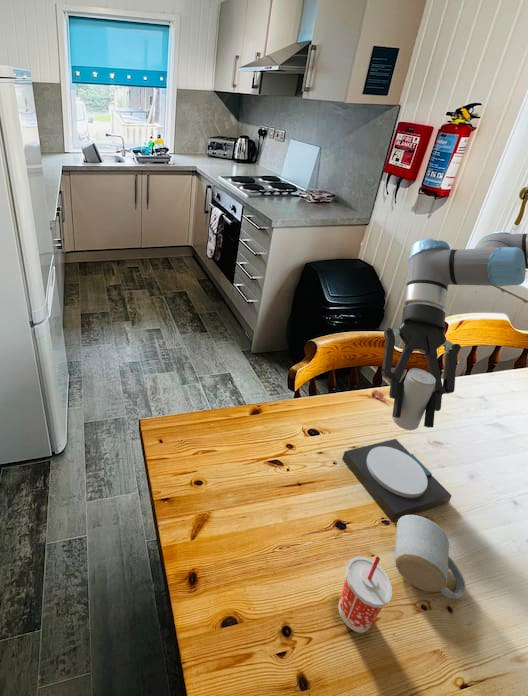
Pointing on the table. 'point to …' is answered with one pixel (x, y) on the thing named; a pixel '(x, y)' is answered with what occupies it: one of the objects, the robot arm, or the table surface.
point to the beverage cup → (363, 593)
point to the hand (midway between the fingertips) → (412, 421)
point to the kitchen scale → (396, 479)
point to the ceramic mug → (425, 556)
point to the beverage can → (415, 398)
